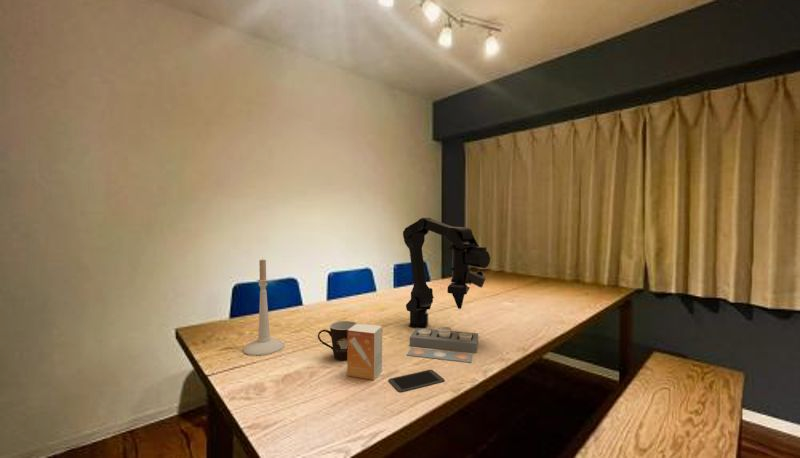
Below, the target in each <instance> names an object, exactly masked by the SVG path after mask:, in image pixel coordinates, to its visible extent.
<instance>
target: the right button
mask: <svg viewBox="0 0 800 458" xmlns="http://www.w3.org/2000/svg"><path fill="white" fill-rule="evenodd" d="M463 332H464V333H459V339H461V340H471V338H472V334H470V333H471V332H468V333H465V331H463Z"/></svg>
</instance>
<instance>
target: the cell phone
mask: <svg viewBox="0 0 800 458" xmlns="http://www.w3.org/2000/svg"><path fill="white" fill-rule="evenodd" d="M387 381H388V384H390V385H391V387H392V388H393V389H394V390H395V391H396V392H398V393H405V392H410V391H414V390H417V389H421V388H425V387H429V386H433V385H437V384H441V383H442V384H443V383H445V382H446V380H445V378H443V377H442V376H441V375H440V374H438V373H437V372H436V371H434V370H433V369H426V370H422V371H418V372H413V373H408V374H405V375H400V376H396V377H395V376H394V377H391V378H388V380H387Z"/></svg>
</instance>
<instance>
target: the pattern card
mask: <svg viewBox="0 0 800 458" xmlns="http://www.w3.org/2000/svg"><path fill="white" fill-rule="evenodd" d="M406 356H407V357H415V358H416V357H417V358H423V359H424V358H425V359H432V360H441V361H451V362H459V363H467V364H468V363H469V364H472V362H473V353H467V352H458V351H449V350H439V349H430V348H421V347H410V349H409V350H408V352H407V353H406Z"/></svg>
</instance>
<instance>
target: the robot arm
mask: <svg viewBox="0 0 800 458" xmlns="http://www.w3.org/2000/svg"><path fill="white" fill-rule="evenodd" d="M429 232H433V233H435V234H437V235H440V236H442V237H445V238H446V239H447V241H448V242H449V243H451V245H450V246H449V247H448V248H447V249H448V250H449V251H452V264H451V265H452V266H451V268H450V269H451V271H452V272H451V279H450V284H449V285H447V289H446V290H447V294H451V295H452V297H453V300H454V302H455V304H456V307H457V309H460V310H461V309H462V307H463V303H464V299H465V295H467V294H468V292H469V290H470V285H475V286H477V287H478V288H481V289H482V288H483V285H484V284H485V282H486V280H487V279H486V278H487V277H486V276H485V275H484V272H483V271H481V270H479V269H478V270H477V271H472V270H471V267H476V268H480V269H486V268H487V267H489V265H490V263H491V256H490V253H489V252H488V251H487V247H486V246H479V243H478V242H477V240H476V238H475V236H474V234H473V231H472V229H471V228H469V227H465V226H452V225H449V224H446V223H444V222H441V221H438V220H435V219H432V218H431V217H421V218H419V219H418V220H417V221H416V222H413V223H412V224H410V225H408V226H407V227H405V228H404V230H403V231H402V236H403V241H404V244H405V245H406V247H407V248H408V249H409V258H410V264H411V265H410V266H411V273H412V275H411V276H412V281H413V282H412V283H413V286H412V289H411V292H410V300H409V301H408V302H407V303H406V304H405V308H406V311H408V312H409V325H408V327H411V328H424V329H426V327H427V326H428V325H429V313H428V311H429V310H431V308H432V304H433V302H434V298H435V297H434V292H433V288H432V287H429V286H428V284H427V280H426V271H425V265H424V264H425V263H424V256H423V246H424V244H425V239H426V237H425V236H426V235H428V234H429ZM467 284H468V285H469V286H468V285H467Z"/></svg>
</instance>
